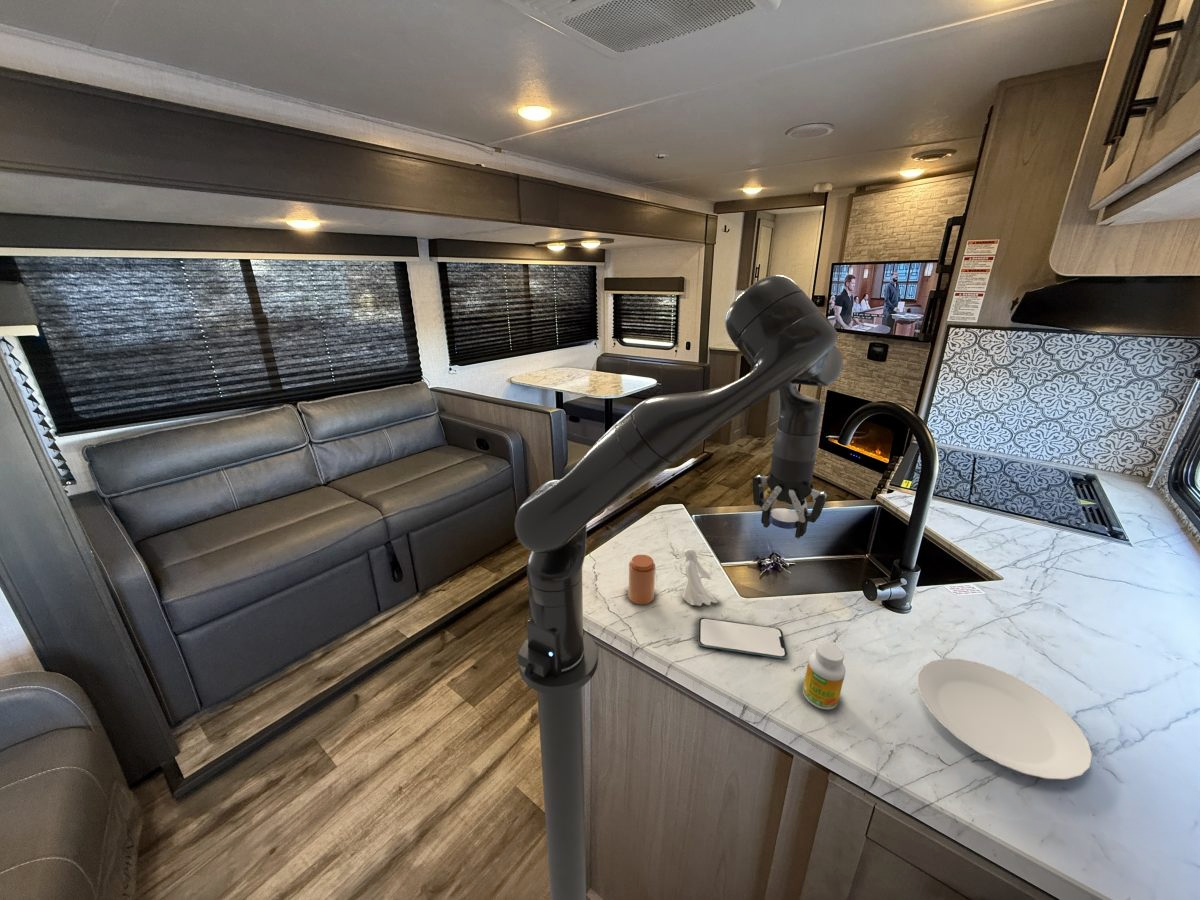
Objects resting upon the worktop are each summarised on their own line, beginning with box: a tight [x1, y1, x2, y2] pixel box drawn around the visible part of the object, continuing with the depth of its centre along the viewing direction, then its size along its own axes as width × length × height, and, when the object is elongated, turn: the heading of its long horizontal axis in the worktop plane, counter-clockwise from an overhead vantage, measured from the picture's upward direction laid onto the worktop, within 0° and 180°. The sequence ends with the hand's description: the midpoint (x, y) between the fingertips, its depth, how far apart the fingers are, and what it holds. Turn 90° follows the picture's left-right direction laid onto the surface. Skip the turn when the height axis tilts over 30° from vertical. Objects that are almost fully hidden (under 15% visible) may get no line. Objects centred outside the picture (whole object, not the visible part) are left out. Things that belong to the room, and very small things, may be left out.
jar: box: [627, 554, 656, 605], centre depth 99 cm, size 6×6×9 cm
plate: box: [916, 658, 1093, 781], centre depth 72 cm, size 21×21×2 cm
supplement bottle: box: [802, 641, 847, 710], centre depth 75 cm, size 5×5×10 cm
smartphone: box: [697, 617, 788, 660], centre depth 88 cm, size 8×1×16 cm
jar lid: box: [769, 507, 799, 530], centre depth 91 cm, size 6×6×2 cm
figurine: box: [682, 547, 718, 607], centre depth 97 cm, size 8×8×12 cm
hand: (782, 530), depth 92 cm, fingers closed on jar lid, 5 cm apart
